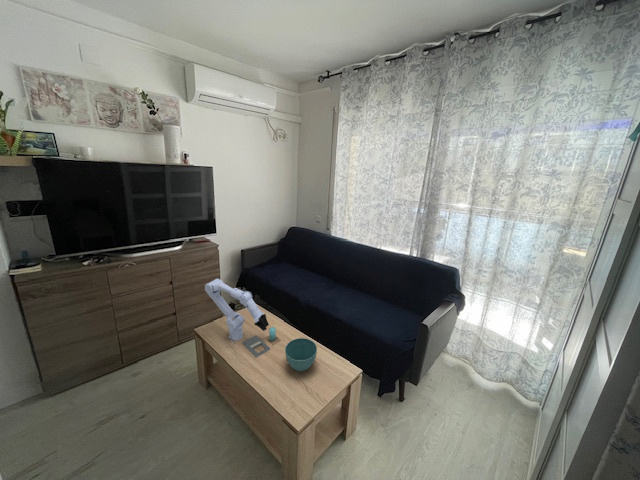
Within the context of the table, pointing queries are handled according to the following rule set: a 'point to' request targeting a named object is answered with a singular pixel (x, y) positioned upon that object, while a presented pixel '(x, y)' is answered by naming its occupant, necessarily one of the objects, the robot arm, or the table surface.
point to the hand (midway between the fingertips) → (266, 327)
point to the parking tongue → (272, 341)
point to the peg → (272, 333)
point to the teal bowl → (301, 353)
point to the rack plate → (255, 345)
